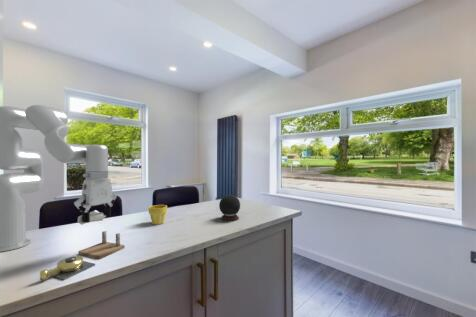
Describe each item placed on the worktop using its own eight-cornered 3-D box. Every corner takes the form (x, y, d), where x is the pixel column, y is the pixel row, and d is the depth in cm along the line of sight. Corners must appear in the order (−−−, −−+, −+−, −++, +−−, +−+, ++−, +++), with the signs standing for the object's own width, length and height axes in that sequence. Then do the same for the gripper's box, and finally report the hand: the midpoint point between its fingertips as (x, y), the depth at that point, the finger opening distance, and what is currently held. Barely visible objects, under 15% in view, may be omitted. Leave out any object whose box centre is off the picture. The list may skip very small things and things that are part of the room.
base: (44, 274, 71) (44, 272, 71) (76, 260, 81) (76, 259, 81) (63, 280, 68) (63, 278, 68) (95, 265, 77) (95, 263, 77)
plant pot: (145, 223, 129) (145, 206, 129) (162, 219, 136) (162, 203, 136) (152, 226, 121) (152, 209, 121) (170, 223, 128) (170, 206, 128)
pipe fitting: (107, 220, 92) (91, 218, 92) (107, 210, 92) (92, 209, 92) (94, 226, 84) (77, 224, 84) (95, 215, 84) (78, 214, 84)
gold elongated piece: (33, 278, 68) (33, 268, 68) (74, 261, 79) (74, 252, 79) (47, 282, 65) (47, 272, 65) (87, 264, 76) (87, 255, 76)
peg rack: (78, 254, 86) (78, 238, 86) (104, 244, 97) (104, 230, 97) (99, 259, 82) (99, 242, 82) (124, 248, 92) (124, 233, 92)
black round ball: (239, 215, 144) (239, 193, 144) (241, 221, 131) (241, 196, 131) (219, 216, 143) (219, 193, 143) (219, 222, 130) (218, 196, 130)
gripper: (81, 177, 78) (81, 226, 78) (122, 174, 94) (122, 214, 94) (67, 177, 81) (67, 224, 81) (110, 174, 97) (110, 213, 97)
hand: (97, 219), depth 87 cm, fingers closed on pipe fitting, 8 cm apart
